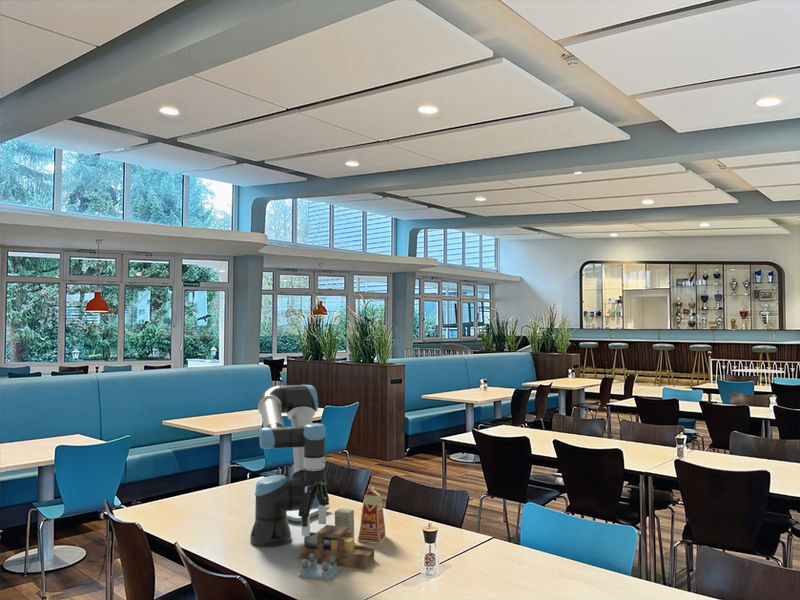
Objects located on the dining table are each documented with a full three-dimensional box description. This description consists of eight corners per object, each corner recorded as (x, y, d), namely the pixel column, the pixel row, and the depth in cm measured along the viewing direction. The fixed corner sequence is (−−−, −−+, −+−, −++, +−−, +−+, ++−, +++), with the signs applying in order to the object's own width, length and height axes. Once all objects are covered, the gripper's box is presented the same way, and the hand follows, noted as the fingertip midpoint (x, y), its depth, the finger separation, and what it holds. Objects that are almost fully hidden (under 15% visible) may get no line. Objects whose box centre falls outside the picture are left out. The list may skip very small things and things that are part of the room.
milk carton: (380, 543, 237) (381, 489, 237) (357, 541, 238) (357, 488, 239) (386, 535, 245) (386, 483, 246) (363, 533, 247) (363, 482, 248)
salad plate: (331, 512, 276) (331, 504, 276) (299, 526, 258) (299, 517, 258) (294, 505, 287) (294, 497, 287) (261, 517, 269) (261, 509, 269)
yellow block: (330, 551, 219) (330, 539, 219) (335, 547, 223) (335, 536, 223) (349, 553, 217) (349, 541, 217) (354, 549, 221) (354, 538, 221)
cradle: (298, 576, 206) (298, 561, 206) (310, 566, 214) (310, 551, 215) (330, 580, 203) (330, 565, 203) (340, 570, 211) (340, 555, 211)
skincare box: (354, 542, 238) (354, 509, 238) (350, 546, 234) (350, 512, 234) (339, 540, 240) (339, 507, 240) (334, 544, 236) (334, 511, 236)
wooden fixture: (295, 559, 220) (295, 529, 221) (306, 551, 228) (306, 522, 229) (366, 568, 213) (366, 537, 213) (374, 559, 221) (374, 529, 221)
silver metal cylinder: (303, 548, 221) (303, 534, 222) (310, 544, 226) (310, 530, 226) (330, 551, 218) (330, 536, 219) (336, 546, 223) (336, 532, 223)
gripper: (308, 477, 211) (308, 542, 210) (338, 461, 235) (338, 520, 234) (288, 475, 213) (288, 539, 212) (319, 460, 237) (319, 518, 236)
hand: (314, 529), depth 223 cm, fingers open, 13 cm apart
